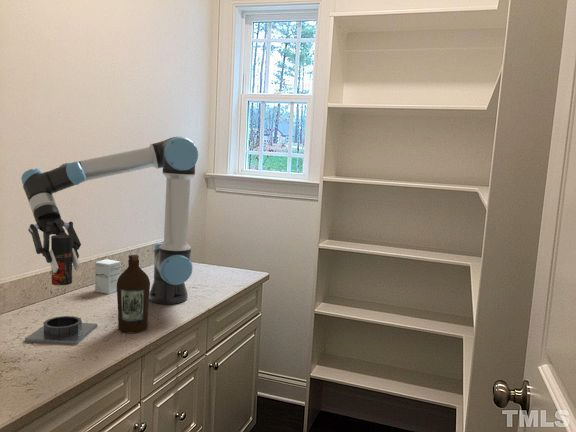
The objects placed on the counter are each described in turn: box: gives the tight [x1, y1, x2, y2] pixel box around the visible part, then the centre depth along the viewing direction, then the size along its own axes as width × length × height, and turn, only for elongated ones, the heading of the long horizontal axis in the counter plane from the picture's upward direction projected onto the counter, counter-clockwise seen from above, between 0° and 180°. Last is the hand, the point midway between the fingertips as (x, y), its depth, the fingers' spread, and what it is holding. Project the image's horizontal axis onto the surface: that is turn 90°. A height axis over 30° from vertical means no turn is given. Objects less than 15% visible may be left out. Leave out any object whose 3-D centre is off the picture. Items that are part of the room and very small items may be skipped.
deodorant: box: [50, 234, 73, 286], centre depth 160 cm, size 6×6×15 cm
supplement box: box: [94, 258, 122, 295], centre depth 211 cm, size 7×7×13 cm
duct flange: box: [24, 315, 98, 346], centre depth 163 cm, size 16×16×4 cm
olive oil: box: [116, 254, 151, 334], centre depth 169 cm, size 11×11×25 cm
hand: (66, 268), depth 158 cm, fingers closed on deodorant, 6 cm apart
